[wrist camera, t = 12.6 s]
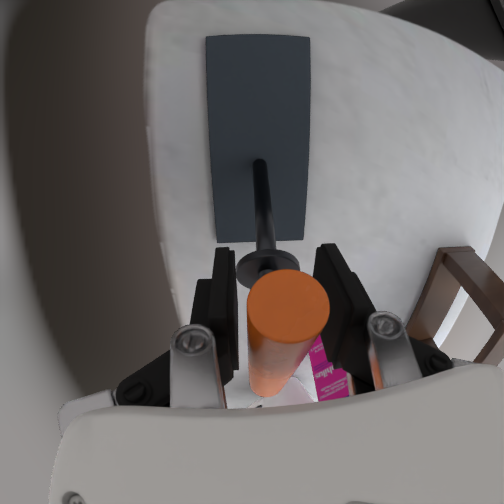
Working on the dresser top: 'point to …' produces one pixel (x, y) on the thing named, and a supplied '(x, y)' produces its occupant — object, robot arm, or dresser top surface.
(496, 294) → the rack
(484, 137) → the dresser top surface
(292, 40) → the mat
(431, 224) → the dresser top surface
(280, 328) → the T-handle
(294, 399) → the mug
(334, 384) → the supplement box
